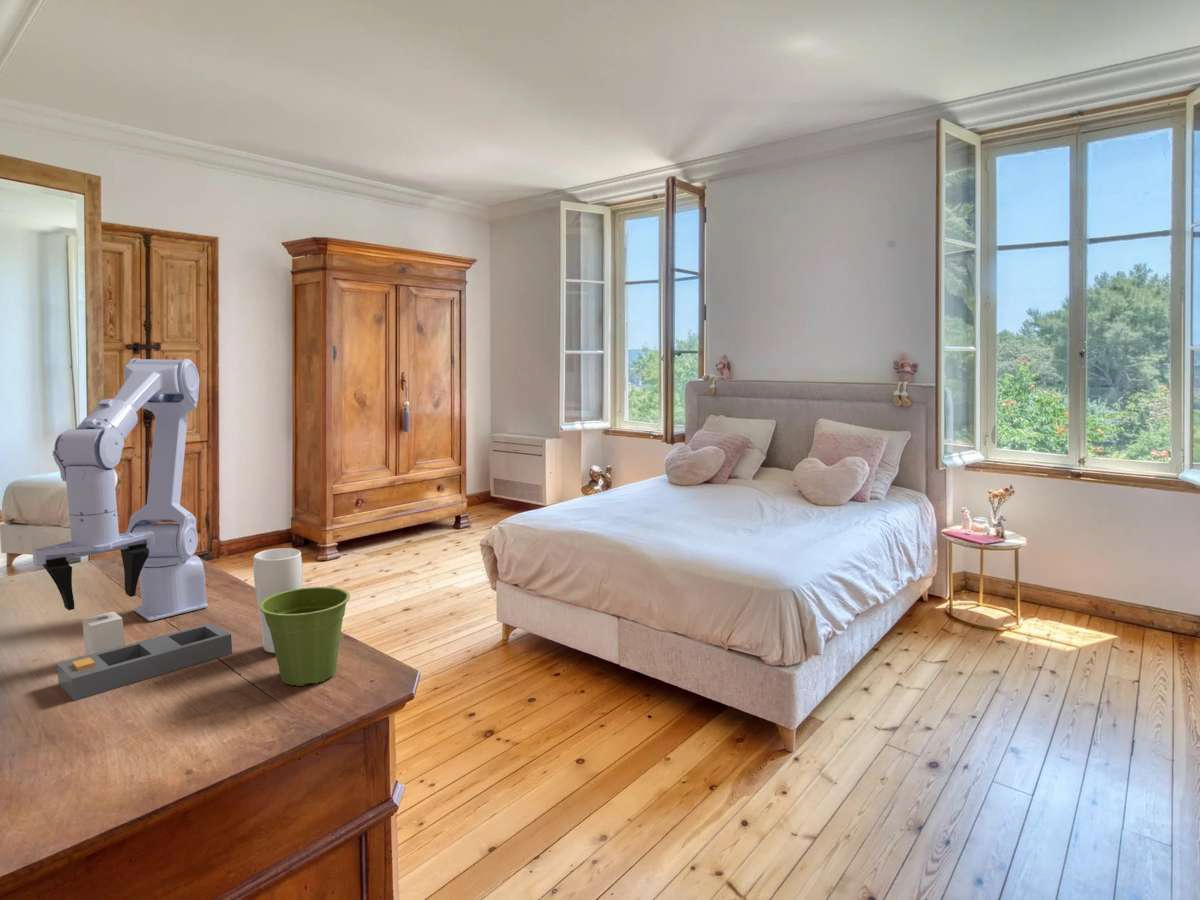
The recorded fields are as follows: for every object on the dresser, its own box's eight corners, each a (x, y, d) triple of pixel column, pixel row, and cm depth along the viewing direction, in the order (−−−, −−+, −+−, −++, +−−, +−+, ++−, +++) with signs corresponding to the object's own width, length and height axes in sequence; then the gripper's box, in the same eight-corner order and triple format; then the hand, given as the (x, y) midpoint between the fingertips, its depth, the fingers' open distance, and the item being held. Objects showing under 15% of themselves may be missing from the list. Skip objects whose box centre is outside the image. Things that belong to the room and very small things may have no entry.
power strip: (212, 640, 113) (211, 619, 112) (232, 653, 108) (230, 631, 108) (58, 684, 98) (56, 659, 97) (73, 700, 93) (71, 675, 93)
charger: (116, 649, 109) (113, 610, 109) (125, 656, 107) (122, 617, 106) (85, 657, 106) (82, 617, 105) (94, 665, 104) (90, 624, 103)
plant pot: (363, 657, 108) (360, 585, 106) (336, 695, 96) (333, 615, 94) (283, 657, 107) (280, 585, 106) (247, 695, 96) (242, 614, 94)
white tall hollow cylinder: (258, 660, 106) (253, 562, 104) (257, 643, 112) (252, 550, 110) (307, 651, 109) (303, 556, 107) (303, 636, 115) (299, 545, 113)
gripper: (38, 524, 95) (47, 621, 97) (159, 507, 106) (165, 595, 108) (25, 516, 100) (34, 609, 102) (142, 500, 111) (148, 585, 113)
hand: (100, 601), depth 105 cm, fingers open, 7 cm apart
